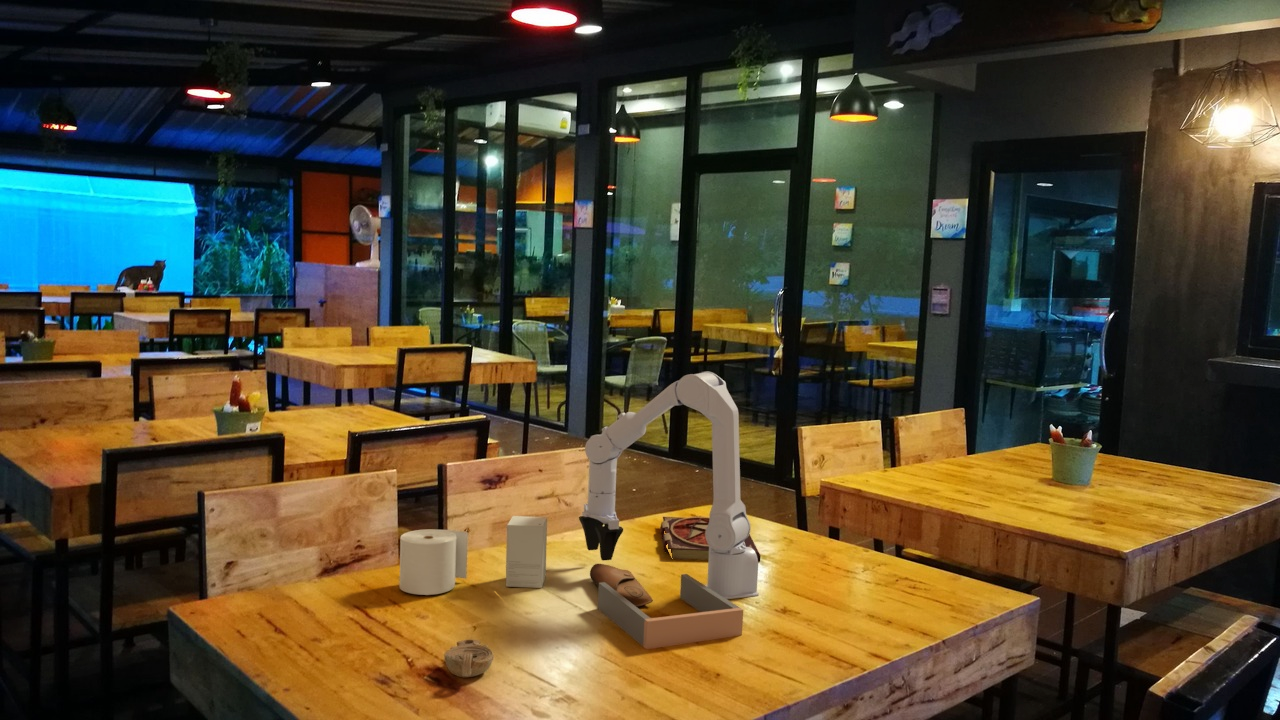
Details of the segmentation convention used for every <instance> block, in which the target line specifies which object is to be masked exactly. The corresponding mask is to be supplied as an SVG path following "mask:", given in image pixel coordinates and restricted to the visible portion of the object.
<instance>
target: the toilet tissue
mask: <svg viewBox="0 0 1280 720" xmlns="http://www.w3.org/2000/svg"><path fill="white" fill-rule="evenodd" d="M468 537H469V532H468V531H462V530H456V529H455V530H452V529H435V528H434V529H433V528H432V529H418V530H417V529H416V530H411V531H407V532H404V533H403V534H401V535H400V538H399V539H400V543H399V544H400V546H399V548H400V549H399V554H400V555H399V577H398V578H399V579H398V580H399V583H398V584H399V585H398V586H399V590H401V591H403V592H404V593H408V594H412V595H421V596H422V595H425V596H431V595H439V594H443V593H447V592H449V591H451V590H453V589H454V588H455V586H456V578H458V579H459V578H460V579H465V580H467V578H468V577H467V575H468V570H467V568H468V551H469V550H468V541H469V539H468Z"/></svg>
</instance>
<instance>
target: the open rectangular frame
mask: <svg viewBox="0 0 1280 720" xmlns="http://www.w3.org/2000/svg"><path fill="white" fill-rule="evenodd" d="M705 585H706V584H703V583H702V582H700V581H699V580H697V579H695V577H692V576H691V575H690V574H688V573H682V574H681V576H680V591H679V593H680V595H679V599H681V600H682V601H683V602H685V603H686V604H688V605H689V606H690V607H692V608H694V609H695V610H697V611H698V612H692V613H685V614H675V615H669V616H659V617H650V616H649V615H648V614H646V613H645V612H643V611H642V610H641V609H640V608H639V607H636V606H635V605H633V604H632V603H631V602H629V601H628V600H627V599H626V598H624V597H623V596H622V595H621V594H619V593H618V592H617V591H615V590H614V589H613V588H612V587H610V586H609V585H608V584H606V583H605V582H602V583H599V588H598V591H597V592H598V593H597V610H599V611H600V612H601V613H603V614H604V616H606V617H607V618H608V619H609V620H610V621H612V622H613V623H614V624H615V625H616V626H618V627H619V628H620V629H622V630H623V632H625V633H626V634H628V635H629V636H630V637H631V638H632V639H633V640H634V641H635V642H637V643H638V644H640V645H641V647H643V648H644V649H646V650H649V649H656V648H662V647H664V648H665V647H671V646H677V645H678V646H679V645H684V644H690V643H698V642H704V641H711V640H719V639H725V638H730V637H732V638H733V637H737V636H742V635H743V623H744V609H743V608H741V607H739V606H738V605H737V604H735V603H733V602H731V601H730V599H725V598H724V597H722V596H721V595H719V594H718V593H716V592H714V591H713V590H711V589H710V588H708V587H707V586H705Z"/></svg>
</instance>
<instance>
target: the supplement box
mask: <svg viewBox="0 0 1280 720" xmlns="http://www.w3.org/2000/svg"><path fill="white" fill-rule="evenodd" d="M547 533H548V517H547V516H522V515H521V516H520V515H512V517H511V518H510V520H508V522H507V524H506V554H505V555H506V556H505V561H506V562H505V587H507V588H509V587H511V588H512V587H514V588H533V589H534V588H535V589H536V588H537V589H542V588H543V585H544V583H545V580H546V576H547V573H546V572H547V542H548V539H547V538H548V534H547Z"/></svg>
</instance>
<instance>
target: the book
mask: <svg viewBox="0 0 1280 720" xmlns="http://www.w3.org/2000/svg"><path fill="white" fill-rule="evenodd" d="M708 524H709V516H690V517H684V516H683V517H681V516H680V517H679V516H678V517H677V516H662V521H661V523H660V534H661V535H662V536H661V539H662V546H663V547H664V548H663V552H667V553H668V551H667V549H666V545H667V544H668V549H671V553H672V558H673V559H672V560H692V559H697V560H698V561H701V560H703V561H705V560H706V561H708V560H709V544H708V543H707V541H706V537H705V532H706V528H707V526H708ZM664 531H665V533H666V534H664ZM744 542H745V545H746V547H750V548H752V549H753V550H754V551H755V552H756V555H757V558H758V563H760V562H761V559H762V558H761V554H760V552H759V550H758V548H757V546H756V544H755V543H754V540H753V539H752V536H751V534H749V536H748V537H747V538H746V539H745V540H744ZM697 560H696V561H697Z"/></svg>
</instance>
